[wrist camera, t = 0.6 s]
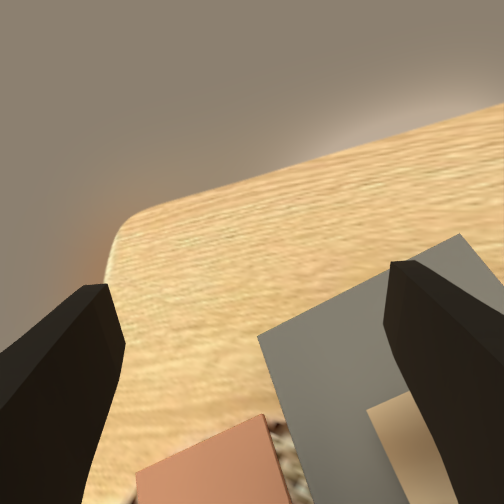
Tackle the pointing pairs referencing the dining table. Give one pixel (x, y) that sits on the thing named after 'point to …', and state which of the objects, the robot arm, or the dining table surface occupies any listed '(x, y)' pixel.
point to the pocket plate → (354, 378)
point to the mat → (219, 471)
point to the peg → (412, 451)
